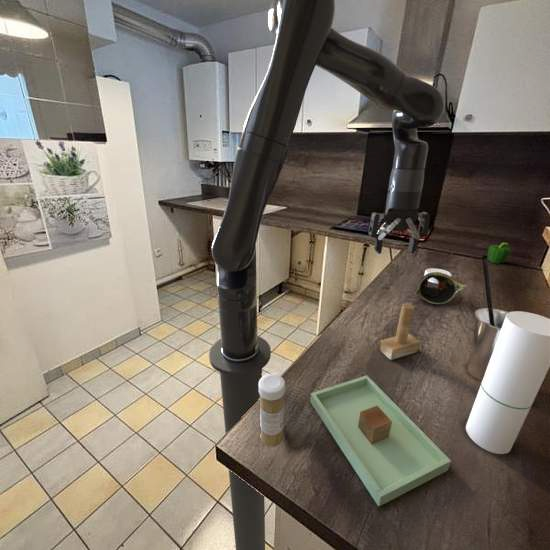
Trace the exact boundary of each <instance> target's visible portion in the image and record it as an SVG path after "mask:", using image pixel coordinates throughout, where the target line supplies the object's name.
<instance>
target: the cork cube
mask: <svg viewBox="0 0 550 550" xmlns="http://www.w3.org/2000/svg"><path fill="white" fill-rule="evenodd" d="M391 424H392V421H391V420H390V419H389V418H388V417H387V416H386V414H385V413H384V412H383V411H382V410H381V409H380V408H379V407H378V406H374V407H372V408H369V409H366V410H364V411H361V412H360V417H359V423H358V428H359V429H360V430H361V432H362V433H363V434H364V435H365V437H366V438H367V439H368V441H369V442H370V443H371V444H374V443H376V442H378V441H381V440H383V439H385V438H388V437H389V433H390V429H391Z"/></svg>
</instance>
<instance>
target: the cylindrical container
mask: <svg viewBox="0 0 550 550" xmlns="http://www.w3.org/2000/svg"><path fill="white" fill-rule="evenodd" d="M508 312H509V313H507V314H506V317H505V320H504V323H503V325H502V328H501V331H500V334H499V336H498V339H497V342H496V345H495V347H494V350H493V353H492V356H491V358H490V361H489V364H488V367H487V369H486V372H485V375H484V378H483V380H482V381H481V383H480V386H479V388H478V392H477V394H476V397H475V400H474V402H473V406H472V408H471V412H470V414H469V416H468V419H467V422H466V425H465V431H466V433H467V435H468V436H469V438H470V439H471V440H472V441H473V443H475V444H476V445H477V446H478V447H480V448H481V449H483V450H485V451H488V452H489V453H492V454H496V455H506V454H508V453H510V452H511V450H512V448H513V446H514V444H515V442H516V440H517V438H518V436H519V433H520V431H521V429H522V427H523V426H524V423H525V420H526V419H527V416H528V415H529V412H530V410H531V408H532V405H533V403H534V401H535V399H536V397H537V395H538V393H539V391H540V388H541V386H542V384H543V382H544V380H545V378H546V375H547V374H548V372H549V370H550V318H549V317H546V316H543V315H540V314H536V313H532V312H527V311H521V310H520V311H519V310H517V311H515V310H514V311H508Z"/></svg>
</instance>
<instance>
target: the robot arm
mask: <svg viewBox="0 0 550 550" xmlns="http://www.w3.org/2000/svg"><path fill="white" fill-rule="evenodd" d="M335 3H336V1H335V0H272V2H271V4H270V5H269V9H268V12H267V13H268V14H267V26H268V31H269V35H270V36H271V39H272V41H273V42H274V47H273V51H272V56H271V59H270V63H269V65H268V68H267V69H268V70H267V72H266V74H265V77H264V80H263V81H262V84H261V85H260V88H259V90H258V91H257V93H256V96H255V97H254V99H253V101H252V104H251V107H250V108H249V111H248V113H247V114H246V115H247V116H246V118H245V121H244V124H243V127H242V131H241V135H240V138H239V143H238V146H237V151H236V155H235V159H234V164H233V168H232V169H233V170H232V173H231V181H230V188H229V194H228V200H227V203H226V207H225V211H224V213H223V216H222V218H221V221H220V224H219V227H218V229H217V230H216V231H217V232H216V234H215V236H214V238H213V240H212V242H211V255H212V258H213V261H214V262H215V265H217V275H216V276H217V277H216V295H217V304H218V305H217V306H218V318H219V329H220V339H221V343H222V355H223V357H224V358H225V359H226V360H228V361H230V362H234V363H242V362H247V361H249V360H251V359H253V358H254V357H255V356H256V355H257V354H258V347H259V341H258V336H259V335H258V334H259V333H258V298H257V295H258V293H257V291H258V290H257V285H258V283H257V281H258V280H257V277H258V276H257V274H258V273H257V271H258V270H257V241H258V235H259V231H260V227H261V222H262V219H263V215H264V213H265V210H266V207H267V206H268V203H269V201H270V199H271V197H272V194H273V192H274V189H275V187H276V185H277V182H278V180H279V177H280V174H281V172H282V169H283V166H284V164H285V160H286V157H287V154H288V151H289V148H290V145H291V142H292V138H293V134H294V130H295V127H296V125H297V121H298V119H299V115H300V112H301V109H302V105H303V101H304V98H305V94H306V92H307V88H308V86H309V82H310V80H311V78H312V75H313V72H314V70H315V67H318V68H320V69H322V70H323V71H325V72H328V73H329V74H331V75H332V76H334V77H336V78H338V79H339V80H341V81H342V82H344V83H345V84H347V85H349V86H350V87H351V88H353V89H354V90H356V91H357V92H358V93H359V94H361V95H362V96H364V97H365V98H366V99H368V100H369V101H370V102H372V103H373V104H375V105H376V106H377V107H379V108H381V109H383V110H386V111H392V117H391V128H392V137H393V138H392V139H393V147H394V152H393V160H392V167H391V172H390V174H389V175H390V176H389V181H388V188H387V195H386V201H385V209H384V212H383V213H377V212H375V211H374V212H372V213H371V216H370V222H369V225H368V226H369V228H368V231H367V232H368V233H367V234H368V236H370V237H371V238H372V239H374V246H373V249H374V251H375V252H376V253H377V254H378V255H381V254H382V251H383V244H384V238H385V237H386V236H387V235H388V234H390V232H391V231H393V232H397V231H402V232H406V231H408V233H409V235H410V238H409V242H408V249H407V252H408V253H410V254H415V252H416V251H417V250H418V245H419V240H420V239H422V238H427V237H428V235H429V229H430V228H429V227H430V222H431V213H428V212H426V211H421V212H419V211H418V210H419V208H420V203H421V198H422V192H423V188H424V181H425V168H426V163H427V160H428V159H427V157H428V153H429V145H428V142H427V141H424V140H422V139H420V138H419V137H418V129H423V128H429V127H431V126H433V125H436V124H437V123H439V121H440V120H441V118H442V117H443V115H444V113H445V109H446V102H445V98H444V95H443V94H442V92H441V91H440V90H439V89H438V88H437V87H435V86H434V85H432V84H430V83H428V82H426V81H424V80H421V79H419V78H417V77H415V76H412V75H409V74H407V73H406V72H405V71H404V70H403V69H401V68H400V66H398V65H397V64H396V63H394V62H393V61H392V60H391V59H390V58H389V57H387V56H386V55H384V54H382V53H381V52H379V51H376V50H374V49H373V48H370V47H368V46H365V45H363V44H361V43H359V42H356V41H354V40H352V39H350V38H348V37H346V36H344V35H343V34H341V33H339V32H338V31H337V30H336V29H334V28H333V27H332V26H333V23H334V18H335V13H336V12H335V9H336V6H335V5H336V4H335ZM382 220H383V221H384V222H383V224H381V226H380V227H378V226H379V223H381V221H382ZM417 220H418V221H419V223H418V224H419V226H418V229H417V227H416V225H415V222H416V221H417ZM378 228H379V229H378Z"/></svg>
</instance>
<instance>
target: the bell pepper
mask: <svg viewBox="0 0 550 550" xmlns="http://www.w3.org/2000/svg"><path fill="white" fill-rule="evenodd" d="M508 245H509V243H508V242H501V243H500V245H498V244H494V245H492V244H491V245H490V246H488V249H487V258H488V262H490V263H492V264H497V265H498V264H504V263H505V262H506V260H508V257H509V256H510V254H511V248H510V247H508Z"/></svg>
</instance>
